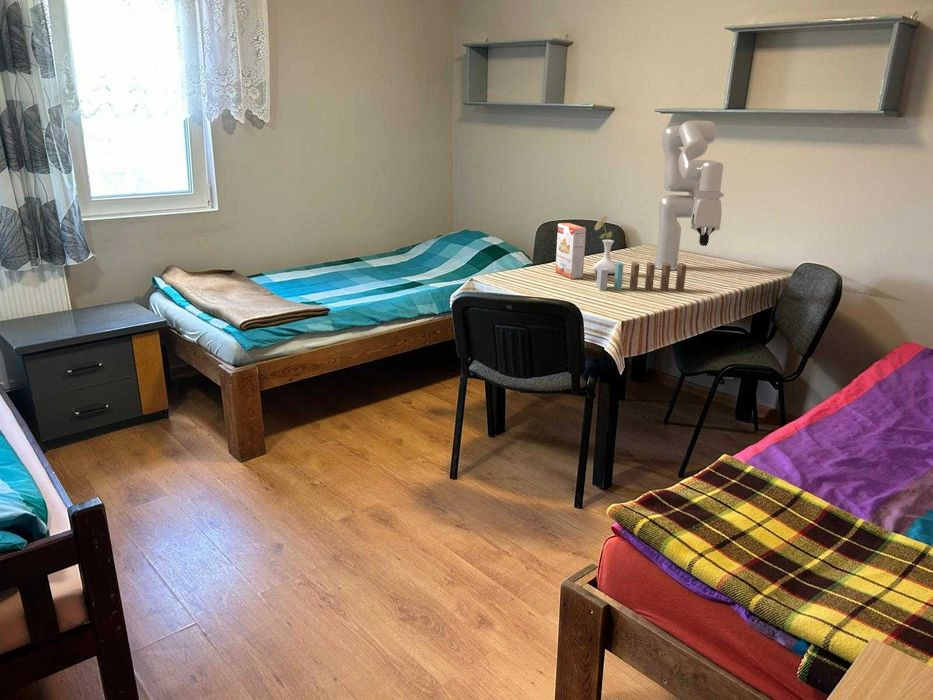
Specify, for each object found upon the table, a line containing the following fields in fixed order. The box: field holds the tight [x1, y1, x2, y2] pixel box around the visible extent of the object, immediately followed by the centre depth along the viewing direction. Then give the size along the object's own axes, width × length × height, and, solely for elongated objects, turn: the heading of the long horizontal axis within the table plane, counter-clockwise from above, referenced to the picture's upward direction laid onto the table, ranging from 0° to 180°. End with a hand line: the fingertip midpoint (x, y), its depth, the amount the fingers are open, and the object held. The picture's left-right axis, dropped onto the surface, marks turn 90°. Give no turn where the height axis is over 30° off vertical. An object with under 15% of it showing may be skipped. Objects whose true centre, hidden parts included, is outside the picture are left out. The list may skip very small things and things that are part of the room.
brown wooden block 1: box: [629, 261, 640, 291], centre depth 276 cm, size 2×5×10 cm, turn 0°
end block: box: [596, 266, 609, 291], centre depth 276 cm, size 8×2×8 cm, turn 0°
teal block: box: [613, 261, 624, 291], centre depth 276 cm, size 2×5×10 cm, turn 0°
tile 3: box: [644, 261, 656, 291], centre depth 276 cm, size 2×5×10 cm, turn 0°
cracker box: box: [555, 222, 587, 280], centre depth 294 cm, size 14×6×21 cm, turn 21°
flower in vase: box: [591, 214, 616, 275], centre depth 300 cm, size 13×11×25 cm
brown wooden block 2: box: [674, 262, 687, 292], centre depth 276 cm, size 2×5×10 cm, turn 0°
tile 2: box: [659, 263, 671, 292], centre depth 276 cm, size 2×5×10 cm, turn 0°
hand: (703, 245), depth 271 cm, fingers closed
